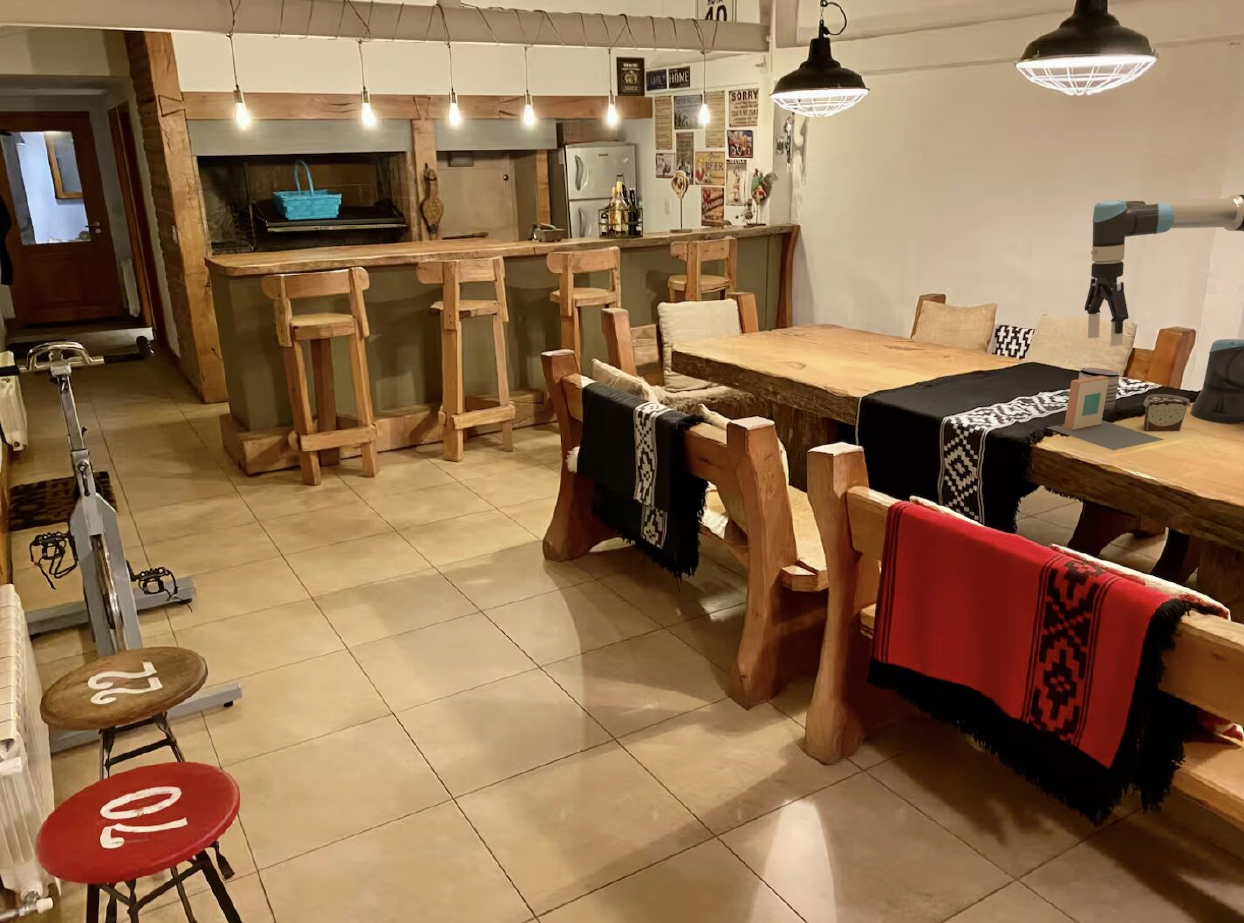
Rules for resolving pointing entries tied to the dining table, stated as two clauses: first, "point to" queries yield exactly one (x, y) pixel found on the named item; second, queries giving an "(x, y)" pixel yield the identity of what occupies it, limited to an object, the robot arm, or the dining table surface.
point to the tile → (1086, 402)
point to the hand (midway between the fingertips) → (1104, 341)
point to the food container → (1164, 412)
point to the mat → (1108, 435)
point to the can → (1111, 384)
